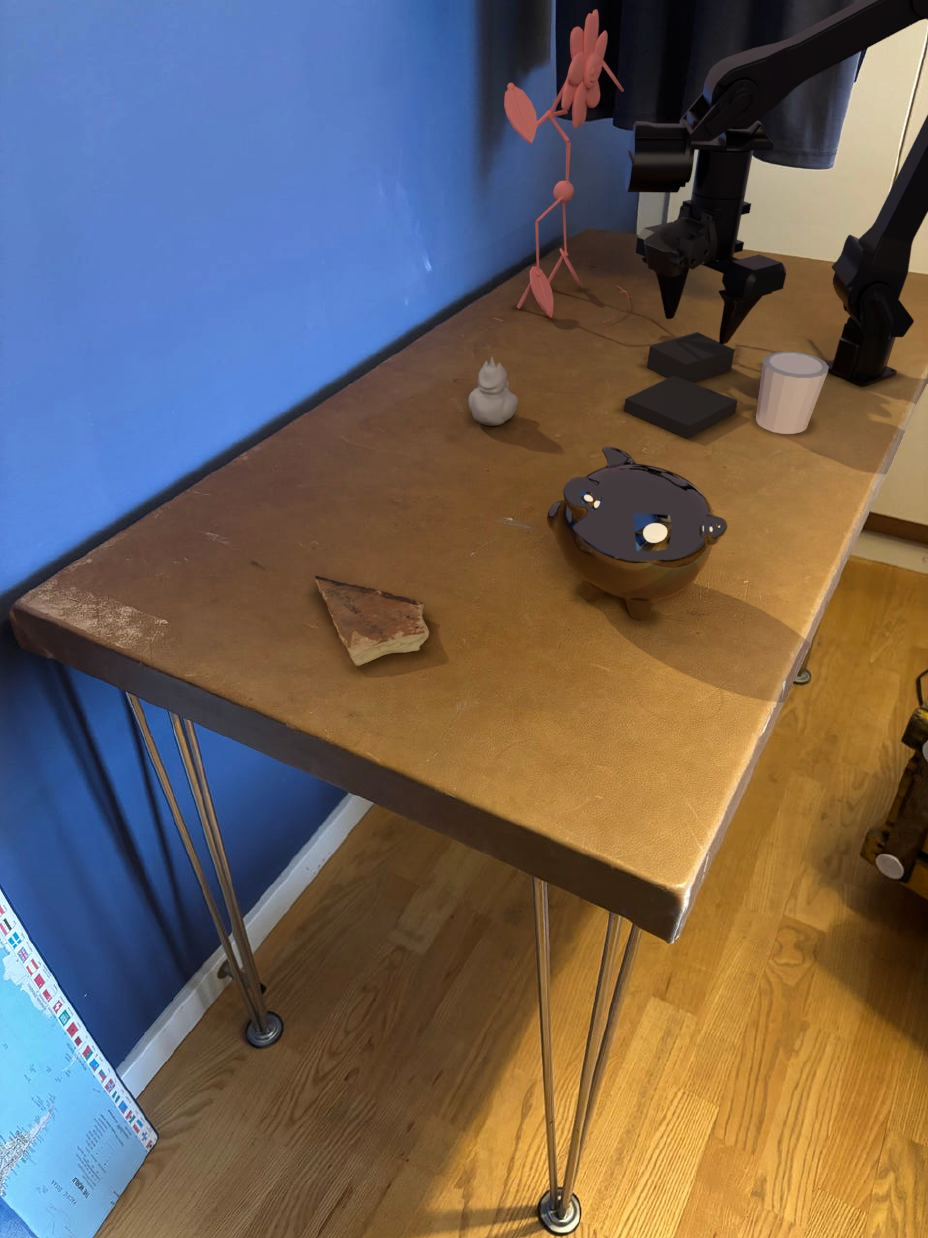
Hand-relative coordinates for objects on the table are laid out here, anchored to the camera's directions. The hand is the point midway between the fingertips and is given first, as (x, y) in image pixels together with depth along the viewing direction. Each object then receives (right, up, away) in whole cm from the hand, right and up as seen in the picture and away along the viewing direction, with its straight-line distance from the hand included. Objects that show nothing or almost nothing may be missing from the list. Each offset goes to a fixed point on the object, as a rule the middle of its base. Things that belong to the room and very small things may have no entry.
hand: (695, 330), depth 110 cm
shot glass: (+8, -13, -7) cm, 17 cm away
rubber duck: (-25, -13, -7) cm, 29 cm away
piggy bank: (-14, -32, -31) cm, 47 cm away
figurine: (-12, +9, +19) cm, 25 cm away
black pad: (0, -4, +3) cm, 5 cm away
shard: (-37, -36, -36) cm, 62 cm away
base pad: (-3, -11, -6) cm, 13 cm away
